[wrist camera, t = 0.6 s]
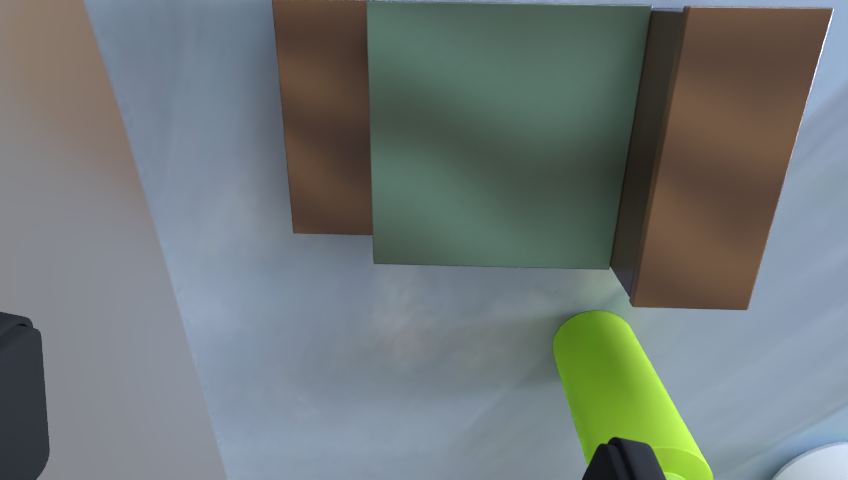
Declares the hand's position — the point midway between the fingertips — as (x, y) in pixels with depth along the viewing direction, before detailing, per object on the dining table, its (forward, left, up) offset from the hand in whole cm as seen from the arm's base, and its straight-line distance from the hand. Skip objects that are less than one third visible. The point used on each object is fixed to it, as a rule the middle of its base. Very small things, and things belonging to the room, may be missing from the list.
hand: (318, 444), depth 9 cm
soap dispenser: (+16, +14, -28) cm, 35 cm away
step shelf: (0, +5, -27) cm, 28 cm away
